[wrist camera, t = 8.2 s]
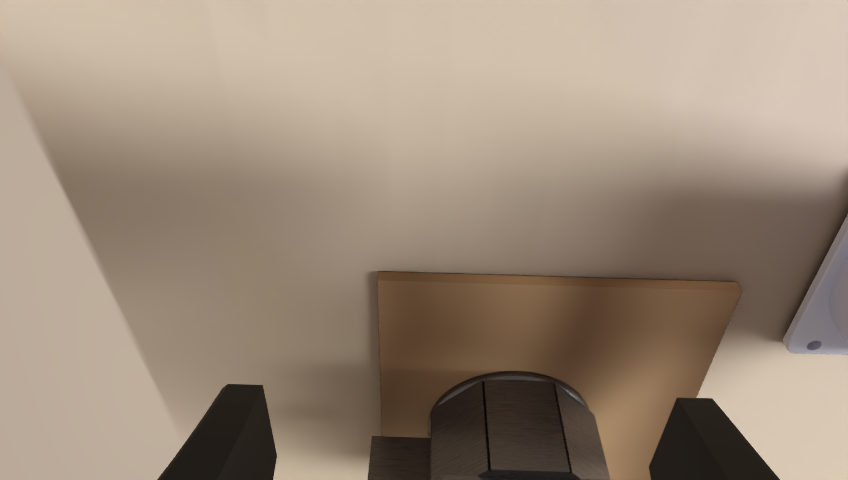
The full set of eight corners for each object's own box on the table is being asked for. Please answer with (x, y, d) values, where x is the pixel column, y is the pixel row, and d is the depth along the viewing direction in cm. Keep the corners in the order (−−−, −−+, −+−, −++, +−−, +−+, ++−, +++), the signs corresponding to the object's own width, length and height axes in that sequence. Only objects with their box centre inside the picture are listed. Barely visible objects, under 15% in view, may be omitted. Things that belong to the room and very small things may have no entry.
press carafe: (604, 373, 25) (636, 482, 21) (575, 474, 29) (597, 581, 25) (372, 366, 25) (359, 474, 21) (376, 468, 29) (366, 574, 25)
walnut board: (736, 281, 22) (742, 291, 22) (628, 539, 33) (630, 548, 33) (378, 271, 22) (377, 280, 22) (385, 531, 33) (385, 540, 33)
